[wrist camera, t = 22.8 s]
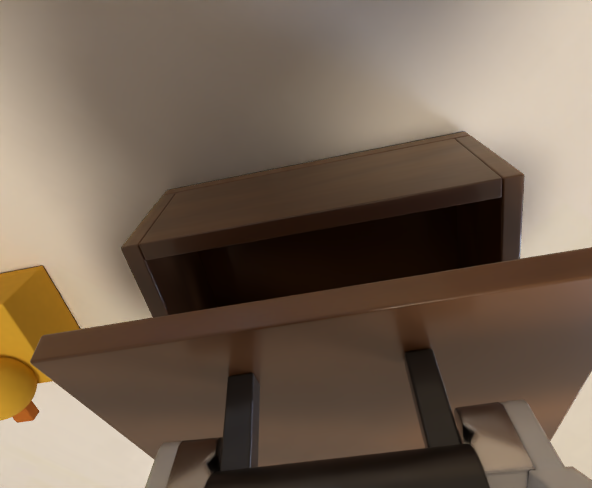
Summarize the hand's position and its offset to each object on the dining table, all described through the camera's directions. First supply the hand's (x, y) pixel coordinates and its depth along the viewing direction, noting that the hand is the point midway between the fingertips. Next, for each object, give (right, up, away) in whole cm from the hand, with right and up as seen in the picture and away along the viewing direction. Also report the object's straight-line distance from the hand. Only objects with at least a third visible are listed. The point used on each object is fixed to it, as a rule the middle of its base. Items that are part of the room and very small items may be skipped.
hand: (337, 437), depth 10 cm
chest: (+1, +1, +13) cm, 13 cm away
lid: (+1, -2, +6) cm, 6 cm away
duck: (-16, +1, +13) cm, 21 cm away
